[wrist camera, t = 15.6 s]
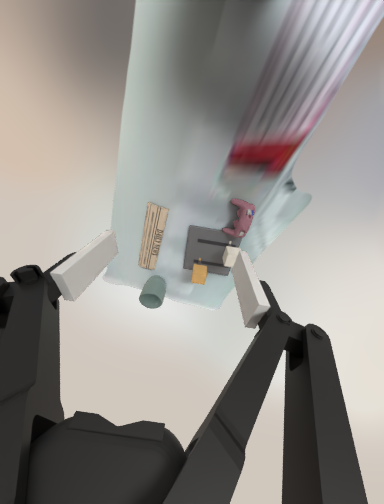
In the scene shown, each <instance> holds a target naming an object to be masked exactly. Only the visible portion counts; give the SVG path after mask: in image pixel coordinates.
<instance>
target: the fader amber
mask: <svg viewBox="0 0 384 504" xmlns="http://www.w3.org/2000/svg"><path fill="white" fill-rule="evenodd" d="M206 277H207V266H204V265H201V261H198V264H194V266H193V271H192V279H191V283H197V284H203V285H204V284H205V280H206Z"/></svg>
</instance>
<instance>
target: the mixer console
mask: <svg viewBox="0 0 384 504" xmlns="http://www.w3.org/2000/svg"><path fill="white" fill-rule="evenodd" d="M241 240H242V238H237V237H234V236H231V235H229V234H227V233H225V232H223V231H222V230H216V229H210V228H204V227H198V226H192V225H190V229H189V235H188V242H187V248H186V255H185V261H184V269H190V270H193V266H194V264H198V261H201V265H204V266H207V272H208V273H215V274H221V275H227V276H228V274H229V271H230V268H231V267H227V266H224V263H223V255H224V251H225V248H226V246H228V244H229V245H231V246H232V247H236V248H239V245H240V242H241Z"/></svg>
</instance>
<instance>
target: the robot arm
mask: <svg viewBox="0 0 384 504" xmlns="http://www.w3.org/2000/svg"><path fill="white" fill-rule="evenodd" d="M117 254H118V248H117V243H116V237H115V232H114V231H111V230H106V231H105V232H104V233H102V234H101V235H99V236H98V237H97V238H95V239H94V240H93V241H91V242H90V243H89V244H87V245H86V246H85V247H84V248H82V249H81V250H80V251H78V252H74V253H72V254H69V255H67V256H66V257H64V258H63V259H62V260H60V261H59V262H58V263H56V264H55V265H53V266H52V267H50V268H49V269H48V270H46V271H45V272H44V273H43V272H42V271H41V269H40V267H39V266H37V265H26V266H23V267H20V268H18V269H16V270H14V271H13V272H12V273H11V274H10V276H11V277H12V278H13V279H14V281H15V282H7V281H6V280H5V279H4V278H3V277H0V504H230V501H231V498H232V496H233V493H234V490H235V487H236V485H237V482H238V479H239V477H240V474H241V471H242V468H243V465H244V461H245V448H246V445H247V442H248V439H249V437H250V434H251V432H252V429H253V427H254V424H255V422H256V419H257V416H258V414H259V411H260V409H261V406H262V403H263V401H264V398H265V396H266V393H267V391H268V388H269V386H270V383H271V380H272V378H273V375H274V373H275V370H276V368H277V365H278V362H279V360H280V357H281V355H282V352H283V350H286V370H285V407H284V408H285V409H284V444H283V446H284V447H283V481H282V484H283V485H282V504H368V502H367V497H366V493H365V489H364V485H363V480H362V476H361V471H360V467H359V463H358V458H357V454H356V450H355V446H354V441H353V437H352V432H351V428H350V424H349V420H348V416H347V411H346V407H345V402H344V398H343V394H342V389H341V386H340V381H339V376H338V372H337V368H336V363H335V359H334V355H333V350H332V346H331V342H330V339H329V336H328V335H327V334H326V332H325V331H324V330H322V329H321V328H320V327H318V326H317V325H314V324H307V325H306V326H305V327H304V326H302V325H300V324H297V323H295V322H293V321H292V320H291V318H290V317H289V316H288V315H287V314H286V313H284V312H282V311H281V309H280V307H279V305H278V303H277V301H276V299H275V297H274V296H273V293H272V292H271V289H270V287H269V285H268V284H267V283H266V282H265V281H260V280H259V279H258V277H257V274H256V272H255V270H254V267H253V265H252V263H251V260H250V258H249V256H248V254H247V252H245V251H239V253H238V256H237V258H236V261H235V264H234V266H233V269H232V273H233V277H234V282H235V286H236V290H237V295H238V299H239V303H240V307H241V312H242V316H243V320H244V325H245V327H248V328H256V326H257V325H258V326H259V329H260V330H259V331H258V332H257V334H256V335H255V336H254V339H253V341H252V342H251V344H250V346H249V347H248V349H247V351H246V353H245V354H244V356H243V357H242V359H241V361H240V362H239V364H238V366H237V367H236V369H235V371H234V372H233V374H232V376H231V377H230V379H229V381H228V382H227V384H226V385H225V387H224V389H223V390H222V392H221V394H220V395H219V397H218V399H217V400H216V402H215V404H214V406H213V407H212V409H211V410H210V412H209V414H208V415H207V417H206V419H205V420H204V422H203V423H202V425H201V426H200V428H199V429H198V431H197V432H196V434H195V436H194V437H193V439H192V440H191V442H190V444H189V445H188V447H187V449H186V450H185V452H184V450H183V448H182V446H181V444H180V442H179V441H178V439H177V438H176V437H175V436H174V434H173V433H171V432H170V431H169V430H168V429H166V428H164V427H165V424H164V423H157V422H150V421H140V422H135V423H131V424H127V425H123V426H115V425H114V424H113V423H111V422H109V421H108V420H106V419H105V418H103V417H102V416H100V415H99V414H94V413H87V412H80V411H76V412H75V414H74V416H73V417H70V418H67V419H65V420H64V411H63V408H62V405H61V401H60V344H59V343H60V333H59V300H58V298H59V297H60V296H61V295H62V296H63V298H64V300H69V301H75V300H76V299H77V298H78V297H79V296H80V295H81V294H82V292H83V291H84V290H85V289H86V288H87V287H88V286H89V285H90V284H91V283H92V281H93V280H94V279H95V278H96V277H97V276H98V275H99V274H100V273H101V271H102V270H103V269H104V268H105V267H106V266H107V265H108V264H109V263H110V261H111V260H112V259H113V258H114V257H115V256H116V255H117Z"/></svg>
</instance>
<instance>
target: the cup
mask: <svg viewBox="0 0 384 504" xmlns="http://www.w3.org/2000/svg"><path fill="white" fill-rule="evenodd" d="M165 292H166V282H165V280H164V279H163V278H162V277H160V276H153V277H151V278H150V279H149V280H148V281H147V282H146V284H145V286H144V288H143V290H142V292H141V295H140V297H139V300H140V302H141V304H142V305H144V306H145V307H147V308H158V307H160V306H161V305H162V303H163V300H164V296H165Z"/></svg>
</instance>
